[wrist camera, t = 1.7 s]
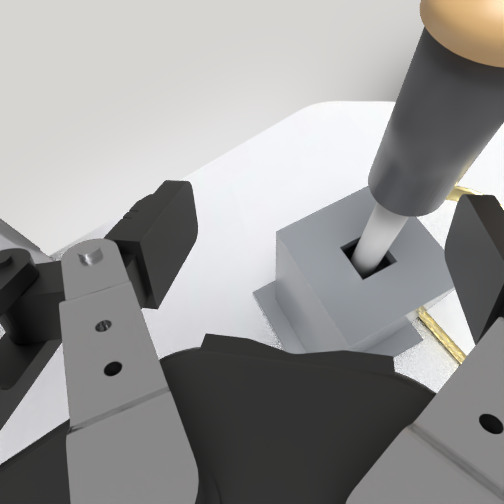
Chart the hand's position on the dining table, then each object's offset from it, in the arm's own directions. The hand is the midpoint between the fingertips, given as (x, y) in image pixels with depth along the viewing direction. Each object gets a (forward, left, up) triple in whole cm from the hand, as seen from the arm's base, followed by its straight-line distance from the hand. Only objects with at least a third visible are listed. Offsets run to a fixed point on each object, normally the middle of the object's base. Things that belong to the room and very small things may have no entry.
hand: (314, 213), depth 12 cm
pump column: (-2, +8, -34) cm, 35 cm away
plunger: (-2, +8, -24) cm, 25 cm away
